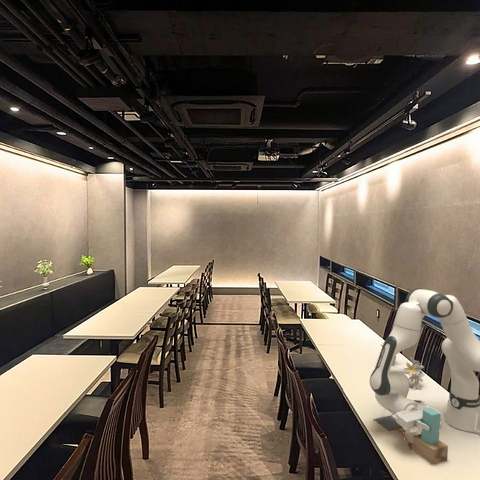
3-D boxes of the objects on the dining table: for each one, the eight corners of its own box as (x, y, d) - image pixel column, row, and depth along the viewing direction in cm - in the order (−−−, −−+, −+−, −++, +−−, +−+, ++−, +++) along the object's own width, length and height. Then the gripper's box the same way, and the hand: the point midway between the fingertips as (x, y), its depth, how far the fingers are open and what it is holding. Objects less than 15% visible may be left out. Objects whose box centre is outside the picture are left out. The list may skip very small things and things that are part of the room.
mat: (392, 415, 180) (393, 414, 180) (409, 426, 171) (409, 425, 171) (373, 419, 175) (373, 419, 175) (389, 431, 166) (389, 430, 166)
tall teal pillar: (429, 436, 152) (430, 408, 152) (438, 442, 148) (440, 413, 147) (421, 438, 150) (422, 410, 150) (430, 445, 146) (432, 415, 146)
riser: (425, 446, 156) (426, 432, 155) (447, 460, 146) (447, 445, 146) (411, 450, 153) (412, 435, 152) (432, 464, 143) (433, 449, 143)
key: (420, 451, 153) (408, 430, 168) (420, 449, 153) (408, 428, 168) (405, 448, 153) (394, 427, 168) (405, 446, 153) (395, 425, 168)
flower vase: (380, 389, 224) (422, 393, 205) (372, 360, 224) (413, 361, 206) (390, 379, 233) (430, 383, 214) (381, 351, 233) (421, 352, 215)
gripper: (389, 407, 156) (416, 424, 143) (424, 399, 164) (452, 415, 151) (388, 422, 156) (415, 440, 143) (423, 413, 164) (452, 430, 151)
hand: (434, 427), depth 147 cm, fingers closed on tall teal pillar, 4 cm apart
